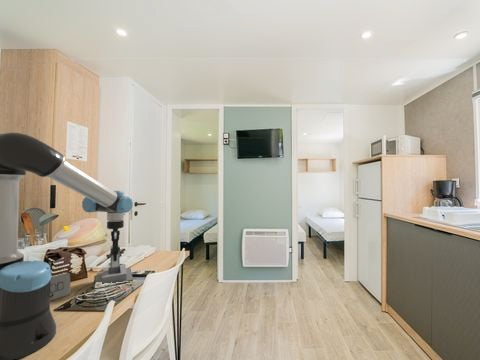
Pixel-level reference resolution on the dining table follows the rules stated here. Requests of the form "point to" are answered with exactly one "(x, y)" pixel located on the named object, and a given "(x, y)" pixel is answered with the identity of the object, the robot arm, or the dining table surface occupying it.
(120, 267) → the socket
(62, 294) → the electrical switch
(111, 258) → the plug
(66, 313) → the dining table surface
